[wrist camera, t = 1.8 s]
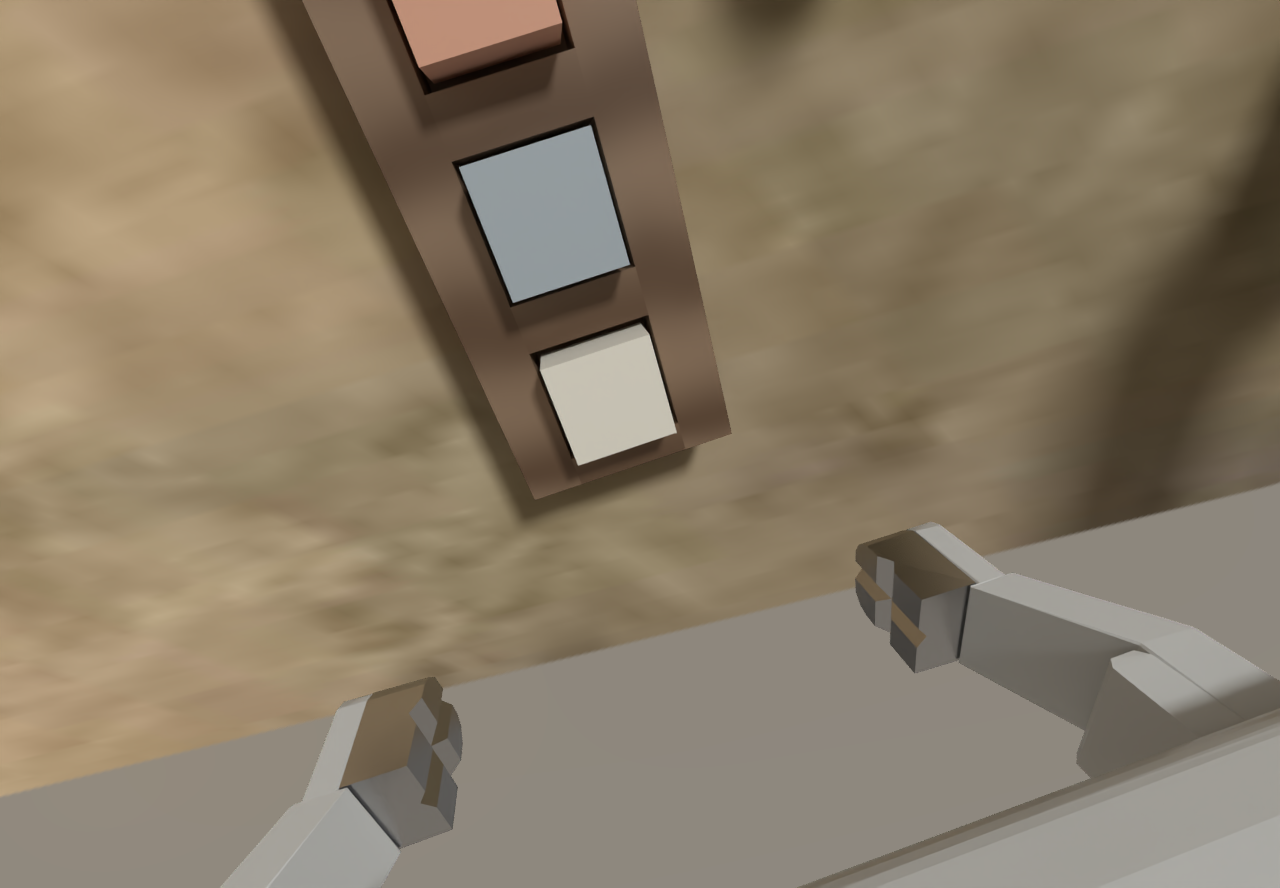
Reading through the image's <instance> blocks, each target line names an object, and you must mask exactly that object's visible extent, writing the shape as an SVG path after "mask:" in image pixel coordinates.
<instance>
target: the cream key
mask: <svg viewBox="0 0 1280 888" xmlns="http://www.w3.org/2000/svg"><path fill="white" fill-rule="evenodd" d="M540 371H541V374H542V376H543V379H544V381H545V384H546V386H547V389H548V391H549V394H550V396H551V399H552V401H553V404H554V406H555V409H556V411H557V414H558V416H559V419H560V421H561V424H562V426H563V429H564V431H565V434H566V436H567V439H568V441H569V444H570V446H571V449H572V451H573V454H574V456H575V459H576V461H577V464H578V466H579V465H582V464H585V463H588V462H591V461H594V460H597V459H600V458H603V457H606V456H609V455H612V454H615V453H618V452H621V451H623V450H626V449H629V448H632V447H635V446H638V445H641V444H644V443H647V442H650V441H653V440H656V439H659V438H662V437H665V436H668V435H671V434H674V433H677V431H676V428H675V424H674V421H673V417H672V414H671V410H670V406H669V403H668V399H667V396H666V392H665V389H664V385H663V381H662V378H661V374H660V371H659V367H658V363H657V360H656V356H655V353H654V349H653V346H652V342H651V338H650V335H649V333H648V332H647V331H646V329H645V328H644V327H643V326H642V324H641V323H640V322H639V323H636V324H633V325H630V326H627V327H624V328H621V329H618V330H615V331H612V332H609V333H606V334H603V335H600V336H597V337H594V338H591V339H588V340H585V341H582V342H579V343H576V344H573V345H570V346H567V347H564V348H561V349H558V350H555V351H552V352H548V353H545V354H542V355H541V363H540Z"/></svg>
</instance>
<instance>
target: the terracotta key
mask: <svg viewBox="0 0 1280 888" xmlns="http://www.w3.org/2000/svg"><path fill="white" fill-rule="evenodd" d="M392 1H393V4H394V6H395V9H396V11H397V14H398V16H399V19H400V21H401V24H402V26H403V29H404V31H405V34H406V36H407V39H408V41H409V44H410V46H411V49H412V51H413V54H414V56H415V59H416V61H417V64H418V66H419V68H420V69H421V70H422V71H423V72H424V73H425V75H426V76H427V77H428V78H429V79H430V80H431V81H432V82H433V83H434V84H436V83H439V82H442V81H445V80H448V79H452V78H455V77H458V76H461V75H464V74H467V73H471V72H474V71H477V70H480V69H483V68H487V67H490V66H493V65H496V64H499V63H502V62H506V61H509V60H512V59H515V58H518V57H521V56H525V55H528V54H531V53H534V52H537V51H540V50H544V49H547V48H550V47H553V46H556V45H559V44H561V32H562V20H561V16H560V13H559V9H558V6H557V2H556V0H392Z"/></svg>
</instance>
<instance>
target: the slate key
mask: <svg viewBox="0 0 1280 888" xmlns="http://www.w3.org/2000/svg"><path fill="white" fill-rule="evenodd" d="M459 169H460V171H461V174H462V176H463V179H464V181H465V184H466V186H467V189H468V191H469V194H470V196H471V199H472V201H473V204H474V206H475V209H476V211H477V214H478V216H479V219H480V221H481V224H482V226H483V229H484V231H485V234H486V236H487V239H488V241H489V244H490V246H491V249H492V251H493V254H494V256H495V259H496V261H497V264H498V266H499V269H500V271H501V274H502V276H503V279H504V281H505V284H506V286H507V289H508V291H509V294H510V296H511V299H512V301H513V303H514V302H517V301H520V300H523V299H526V298H530V297H533V296H536V295H539V294H542V293H545V292H548V291H551V290H554V289H557V288H560V287H563V286H566V285H569V284H572V283H575V282H578V281H581V280H585V279H588V278H591V277H594V276H597V275H600V274H603V273H606V272H609V271H612V270H615V269H618V268H621V267H624V266H627V265H630V263H629V260H628V256H627V253H626V249H625V245H624V242H623V238H622V235H621V231H620V228H619V224H618V220H617V217H616V213H615V210H614V206H613V202H612V199H611V195H610V192H609V188H608V185H607V181H606V177H605V174H604V170H603V167H602V163H601V160H600V156H599V152H598V149H597V145H596V142H595V138H594V134H593V131H592V127H591V125H589V126H586V127H583V128H580V129H577V130H574V131H571V132H568V133H564V134H561V135H558V136H555V137H552V138H549V139H546V140H543V141H539V142H536V143H533V144H530V145H527V146H524V147H521V148H518V149H514V150H511V151H508V152H505V153H502V154H499V155H496V156H493V157H489V158H486V159H483V160H480V161H477V162H474V163H471V164H468V165H464V166H461V167H459Z"/></svg>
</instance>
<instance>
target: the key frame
mask: <svg viewBox="0 0 1280 888" xmlns="http://www.w3.org/2000/svg"><path fill="white" fill-rule="evenodd" d="M302 2H303V4H304V6H305V8H306V10H307V12H308V15H309V17H310V19H311V21H312V23H313V25H314V27H315V30H316V32H317V34H318V36H319V38H320V40H321V42H322V45H323V47H324V49H325V51H326V53H327V55H328V57H329V60H330V62H331V64H332V66H333V68H334V70H335V72H336V75H337V77H338V79H339V81H340V83H341V85H342V87H343V90H344V92H345V94H346V96H347V98H348V100H349V102H350V105H351V107H352V109H353V111H354V113H355V115H356V117H357V120H358V122H359V124H360V126H361V128H362V130H363V133H364V135H365V137H366V139H367V141H368V143H369V145H370V148H371V150H372V152H373V154H374V156H375V158H376V160H377V163H378V165H379V167H380V169H381V171H382V173H383V175H384V178H385V180H386V182H387V184H388V186H389V188H390V190H391V193H392V195H393V197H394V199H395V201H396V203H397V205H398V208H399V210H400V212H401V214H402V216H403V218H404V220H405V223H406V225H407V227H408V229H409V231H410V233H411V235H412V238H413V240H414V242H415V244H416V246H417V248H418V250H419V253H420V255H421V257H422V259H423V261H424V263H425V266H426V268H427V270H428V272H429V274H430V276H431V278H432V281H433V283H434V285H435V287H436V289H437V291H438V293H439V296H440V298H441V300H442V302H443V304H444V306H445V308H446V311H447V313H448V315H449V317H450V319H451V321H452V323H453V326H454V328H455V330H456V332H457V334H458V336H459V338H460V341H461V343H462V345H463V347H464V349H465V351H466V353H467V356H468V358H469V360H470V362H471V364H472V366H473V368H474V371H475V373H476V375H477V377H478V379H479V381H480V383H481V386H482V388H483V390H484V392H485V394H486V396H487V398H488V401H489V403H490V405H491V407H492V409H493V411H494V414H495V416H496V418H497V420H498V422H499V424H500V426H501V429H502V431H503V433H504V435H505V437H506V439H507V441H508V444H509V446H510V448H511V450H512V452H513V454H514V456H515V459H516V461H517V463H518V465H519V467H520V469H521V471H522V474H523V476H524V478H525V480H526V482H527V484H528V486H529V489H530V491H531V493H532V495H533V497H534V499H535V500H537V499H540V498H543V497H546V496H548V495H551V494H554V493H557V492H560V491H563V490H566V489H569V488H572V487H575V486H578V485H581V484H584V483H587V482H590V481H593V480H596V479H599V478H602V477H605V476H608V475H611V474H614V473H617V472H620V471H623V470H626V469H629V468H631V467H634V466H637V465H640V464H643V463H646V462H649V461H652V460H655V459H658V458H661V457H664V456H667V455H670V454H673V453H676V452H679V451H682V450H685V449H688V448H691V447H694V446H697V445H700V444H703V443H706V442H709V441H712V440H715V439H717V438H720V437H723V436H726V435H729V434H732V433H731V428H730V424H729V419H728V415H727V410H726V406H725V401H724V397H723V392H722V388H721V383H720V378H719V374H718V369H717V365H716V360H715V356H714V351H713V347H712V342H711V338H710V333H709V329H708V324H707V320H706V315H705V310H704V306H703V301H702V297H701V292H700V288H699V283H698V279H697V274H696V270H695V265H694V261H693V256H692V252H691V247H690V242H689V238H688V233H687V229H686V224H685V220H684V215H683V211H682V206H681V202H680V197H679V193H678V188H677V184H676V179H675V174H674V170H673V165H672V161H671V156H670V152H669V147H668V143H667V138H666V134H665V129H664V125H663V120H662V116H661V111H660V107H659V102H658V97H657V93H656V88H655V84H654V79H653V75H652V70H651V66H650V61H649V57H648V52H647V48H646V43H645V39H644V34H643V29H642V25H641V20H640V16H639V11H638V7H637V2H636V0H556V2H557V6H558V9H559V13H560V16H561V20H562V32H561V44H559V45H556V46H553V47H550V48H547V49H544V50H540V51H537V52H534V53H531V54H528V55H525V56H521V57H518V58H515V59H512V60H509V61H506V62H502V63H499V64H496V65H493V66H490V67H487V68H483V69H480V70H477V71H474V72H471V73H467V74H464V75H461V76H458V77H455V78H452V79H448V80H445V81H442V82H439V83H436V84H434V83H433V82H432V81H431V80H430V79H429V78H428V77H427V76H426V75H425V73H424V72H423V71H422V70H421V69H420V68H419V66H418V64H417V61H416V59H415V56H414V54H413V51H412V49H411V46H410V44H409V41H408V39H407V36H406V34H405V31H404V29H403V26H402V24H401V21H400V19H399V16H398V14H397V11H396V9H395V6H394V4H393V1H392V0H302ZM589 125H591V127H592V131H593V134H594V138H595V142H596V145H597V149H598V152H599V156H600V160H601V163H602V167H603V170H604V174H605V177H606V181H607V185H608V188H609V192H610V195H611V199H612V202H613V206H614V210H615V213H616V217H617V220H618V224H619V228H620V231H621V235H622V238H623V242H624V245H625V249H626V253H627V256H628V260H629V263H630V265H627V266H624V267H621V268H618V269H615V270H612V271H609V272H606V273H603V274H600V275H597V276H594V277H591V278H588V279H585V280H581V281H578V282H575V283H572V284H569V285H566V286H563V287H560V288H557V289H554V290H551V291H548V292H545V293H542V294H539V295H536V296H533V297H530V298H526V299H523V300H520V301H517V302H514V303H513V301H512V299H511V296H510V294H509V291H508V289H507V286H506V284H505V281H504V279H503V276H502V274H501V271H500V269H499V266H498V264H497V261H496V259H495V256H494V254H493V251H492V249H491V246H490V244H489V241H488V239H487V236H486V234H485V231H484V229H483V226H482V224H481V221H480V219H479V216H478V214H477V211H476V209H475V206H474V204H473V201H472V199H471V196H470V194H469V191H468V189H467V186H466V184H465V181H464V179H463V176H462V174H461V171H460V169H459V167H461V166H464V165H468V164H471V163H474V162H477V161H480V160H483V159H486V158H489V157H493V156H496V155H499V154H502V153H505V152H508V151H511V150H514V149H518V148H521V147H524V146H527V145H530V144H533V143H536V142H539V141H543V140H546V139H549V138H552V137H555V136H558V135H561V134H564V133H568V132H571V131H574V130H577V129H580V128H583V127H586V126H589ZM639 322H640V323H641V324H642V326H643V327H644V328H645V329H646V331H647V332H648V333H649V335H650V338H651V342H652V346H653V349H654V353H655V356H656V360H657V363H658V367H659V371H660V374H661V378H662V381H663V385H664V389H665V392H666V396H667V399H668V403H669V406H670V410H671V414H672V417H673V421H674V424H675V428H676V431H677V433H674V434H671V435H668V436H665V437H662V438H659V439H656V440H653V441H650V442H647V443H644V444H641V445H638V446H635V447H632V448H629V449H626V450H623V451H621V452H618V453H615V454H612V455H609V456H606V457H603V458H600V459H597V460H594V461H591V462H588V463H585V464H582V465H579V466H578V464H577V461H576V459H575V456H574V454H573V451H572V449H571V446H570V444H569V441H568V439H567V436H566V434H565V431H564V429H563V426H562V424H561V421H560V419H559V416H558V414H557V411H556V409H555V406H554V404H553V401H552V399H551V396H550V394H549V391H548V389H547V386H546V384H545V381H544V379H543V376H542V374H541V371H540V363H541V355H542V354H545V353H548V352H552V351H555V350H558V349H561V348H564V347H567V346H570V345H573V344H576V343H579V342H582V341H585V340H588V339H591V338H594V337H597V336H600V335H603V334H606V333H609V332H612V331H615V330H618V329H621V328H624V327H627V326H630V325H633V324H636V323H639Z"/></svg>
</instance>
